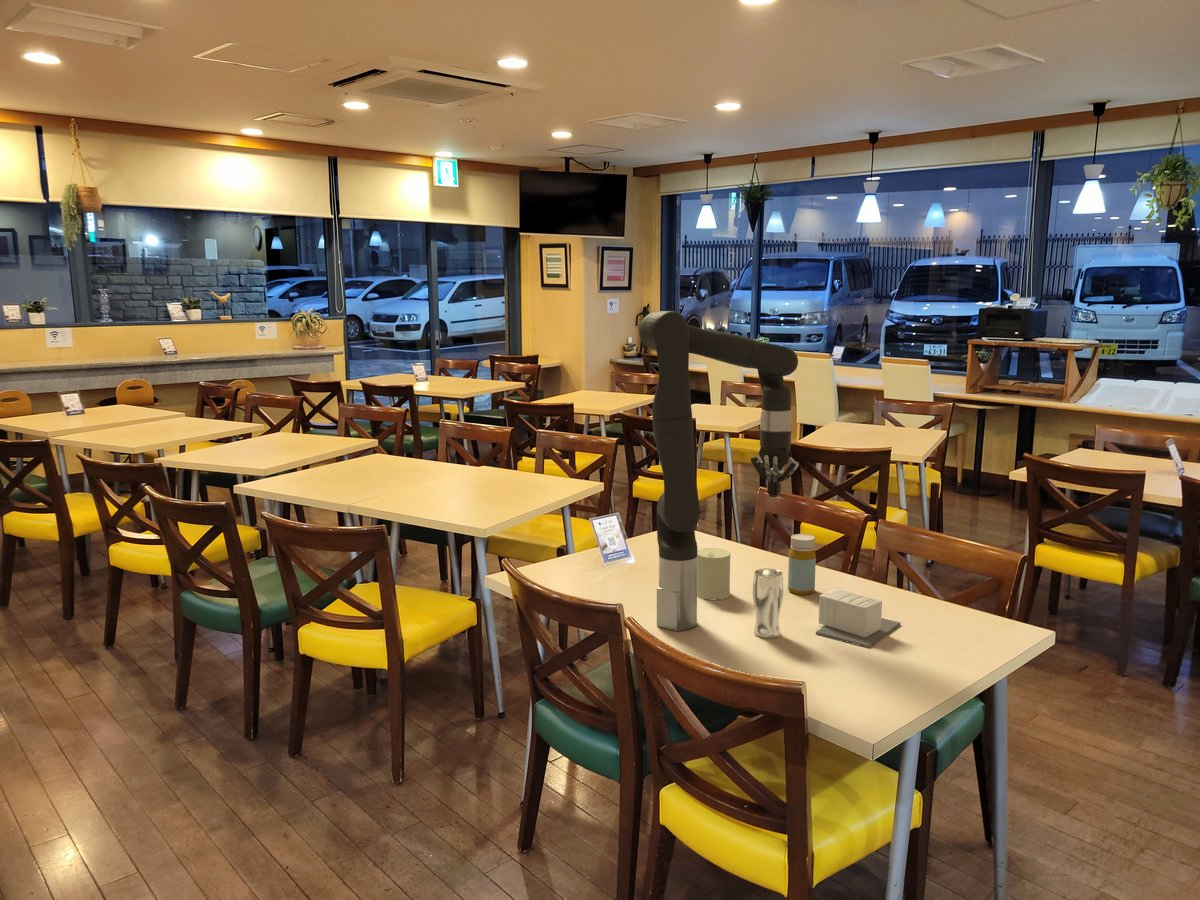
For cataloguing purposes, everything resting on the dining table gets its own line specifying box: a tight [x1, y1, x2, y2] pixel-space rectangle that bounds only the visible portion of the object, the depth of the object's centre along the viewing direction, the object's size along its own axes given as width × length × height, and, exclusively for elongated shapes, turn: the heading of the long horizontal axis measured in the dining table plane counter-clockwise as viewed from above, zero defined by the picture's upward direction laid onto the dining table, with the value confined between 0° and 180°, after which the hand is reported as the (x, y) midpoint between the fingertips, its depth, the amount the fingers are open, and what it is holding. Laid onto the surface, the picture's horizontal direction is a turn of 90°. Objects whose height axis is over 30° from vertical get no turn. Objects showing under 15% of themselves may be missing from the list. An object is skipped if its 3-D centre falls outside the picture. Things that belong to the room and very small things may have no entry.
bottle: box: [787, 533, 817, 596], centre depth 234 cm, size 7×7×15 cm
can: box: [697, 547, 731, 601], centre depth 232 cm, size 9×9×12 cm
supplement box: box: [818, 588, 883, 638], centre depth 208 cm, size 7×7×13 cm
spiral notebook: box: [815, 617, 901, 648], centre depth 208 cm, size 18×13×1 cm
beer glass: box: [752, 567, 784, 640], centre depth 205 cm, size 7×7×15 cm
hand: (773, 496), depth 218 cm, fingers closed
